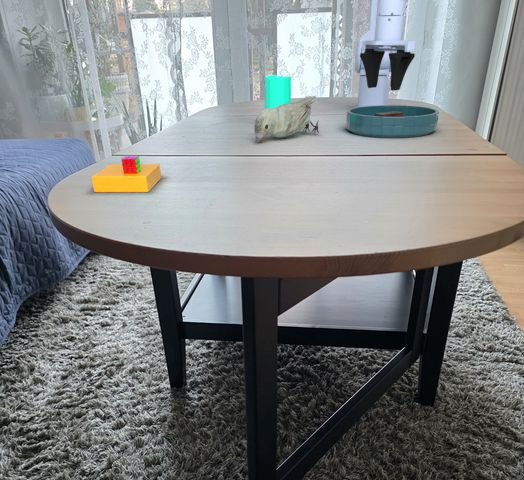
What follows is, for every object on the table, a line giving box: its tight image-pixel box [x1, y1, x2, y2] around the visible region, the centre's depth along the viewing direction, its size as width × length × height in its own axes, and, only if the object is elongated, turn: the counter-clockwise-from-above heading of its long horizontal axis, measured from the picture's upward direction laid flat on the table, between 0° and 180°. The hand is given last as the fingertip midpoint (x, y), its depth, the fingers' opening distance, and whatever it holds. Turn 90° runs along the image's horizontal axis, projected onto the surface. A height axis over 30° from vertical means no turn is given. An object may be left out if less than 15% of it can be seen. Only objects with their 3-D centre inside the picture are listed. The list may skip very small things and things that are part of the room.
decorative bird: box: [253, 95, 320, 144], centre depth 105 cm, size 5×16×7 cm, turn 129°
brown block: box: [375, 111, 403, 117], centre depth 113 cm, size 6×3×3 cm, turn 120°
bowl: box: [345, 104, 440, 139], centre depth 111 cm, size 19×19×4 cm
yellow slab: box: [91, 155, 162, 193], centre depth 75 cm, size 8×8×4 cm
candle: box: [263, 68, 292, 110], centre depth 117 cm, size 6×6×12 cm
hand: (383, 88), depth 113 cm, fingers open, 7 cm apart
